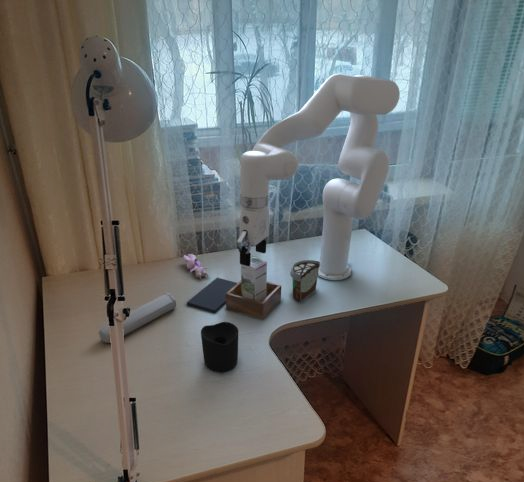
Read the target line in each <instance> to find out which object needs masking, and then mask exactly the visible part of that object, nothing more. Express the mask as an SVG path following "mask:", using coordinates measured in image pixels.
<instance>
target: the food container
mask: <svg viewBox="0 0 524 482" xmlns="http://www.w3.org/2000/svg"><path fill="white" fill-rule="evenodd" d="M319 267H320V260H315V259H306V260H305V259H304V260H299V261H297V262H295V263H294V264H293V265H292V267H291V269H290V271H289V272H290V273H289V275H290V277H291V278H292V298H293V299H294V300H295V301H296V302H298V303H300V304H301V303H302V302H304V301H305V300H306V299H307V298H309V297H310V296H311V295H312V294H314V293H315V292H316V291H317V286H318V285H317V284H318V277H319V276H318V271H319Z"/></svg>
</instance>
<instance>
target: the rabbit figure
mask: <svg viewBox="0 0 524 482" xmlns="http://www.w3.org/2000/svg"><path fill="white" fill-rule="evenodd" d="M182 257H183V260H184V261H185V262H186V268H187V269H188V270H189V274H191V273H192V272H195V276H196V278H198V279H199V280H200V281H201V280H203V279H202V277H204V278H206V279H208V278H209V274H208V272H207V271H206V270H207V268H208V267H206V266H202V262H200V260H199V259H198V257H197V256H196V255H195V254H193V253H188V254H184V255H183V256H182Z"/></svg>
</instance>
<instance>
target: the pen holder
mask: <svg viewBox="0 0 524 482" xmlns="http://www.w3.org/2000/svg"><path fill="white" fill-rule="evenodd" d="M200 337H201V339H200V340H201V347H202V355H203V362H204V366H205V368H207V369H208V370H210V371H211V372H214V373H226V372H230V371H232V370H233V369H234V368H235V367H236V366H237V365H238V361H239V357H238V356H239V328H238V326H237V325H235V324H234V323H232V322H229V321H221V322H218V323H215V324H209V325H204V326H203V327H202V328H201V330H200Z"/></svg>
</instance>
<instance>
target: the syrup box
mask: <svg viewBox="0 0 524 482" xmlns="http://www.w3.org/2000/svg"><path fill="white" fill-rule="evenodd" d="M267 277H268V262H267V261H266V260H264V259H261V258H259V257H257V256H254V255H251V265H250V266H245V265H241V264H240V278H241V279H240V281H241V295H242V297H245V298H249V299H252V300H256V301H259V302H263V301H264V300H265V299H266V283H267V282H268V279H267Z"/></svg>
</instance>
